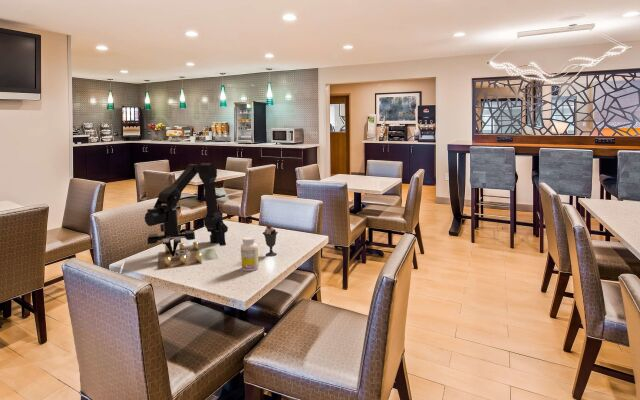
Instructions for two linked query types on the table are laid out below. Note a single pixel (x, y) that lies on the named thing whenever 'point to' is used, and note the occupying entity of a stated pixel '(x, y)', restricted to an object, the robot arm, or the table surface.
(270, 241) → the sundae
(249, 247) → the supplement bottle
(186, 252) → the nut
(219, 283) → the table surface
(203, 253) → the board
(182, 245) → the spacers
